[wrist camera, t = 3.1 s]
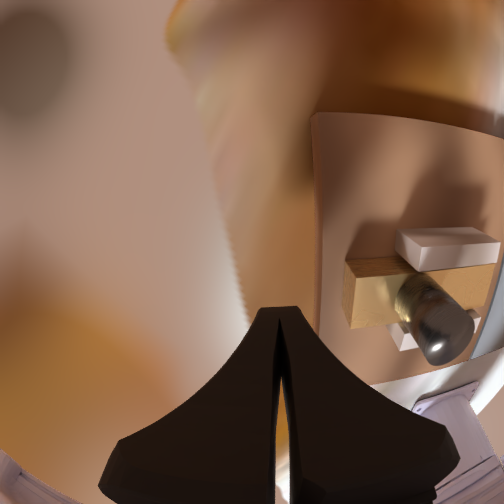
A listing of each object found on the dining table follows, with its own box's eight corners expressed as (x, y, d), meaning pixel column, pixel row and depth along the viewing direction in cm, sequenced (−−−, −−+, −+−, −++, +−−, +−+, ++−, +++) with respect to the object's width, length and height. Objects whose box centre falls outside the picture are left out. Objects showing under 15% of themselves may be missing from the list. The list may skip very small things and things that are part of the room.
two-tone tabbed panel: (310, 370, 17) (317, 422, 13) (310, 117, 11) (330, 101, 7) (514, 325, 15) (539, 351, 11) (546, 158, 10) (583, 168, 6)
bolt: (341, 306, 12) (370, 383, 8) (344, 260, 12) (385, 326, 7) (467, 290, 12) (516, 339, 7) (475, 250, 11) (534, 293, 6)
